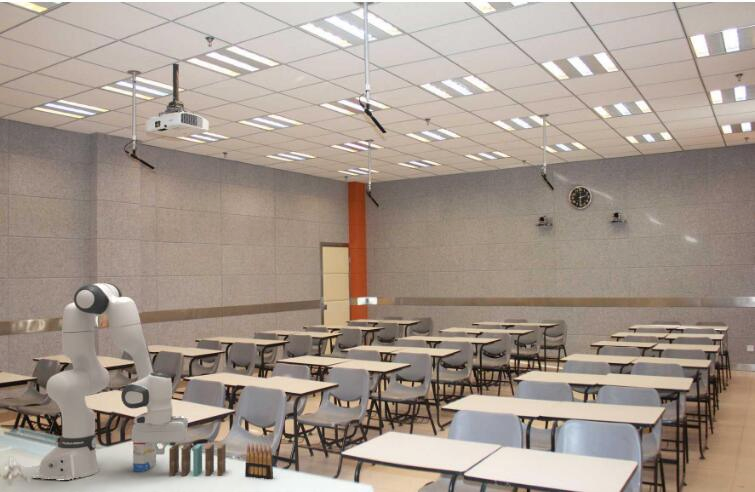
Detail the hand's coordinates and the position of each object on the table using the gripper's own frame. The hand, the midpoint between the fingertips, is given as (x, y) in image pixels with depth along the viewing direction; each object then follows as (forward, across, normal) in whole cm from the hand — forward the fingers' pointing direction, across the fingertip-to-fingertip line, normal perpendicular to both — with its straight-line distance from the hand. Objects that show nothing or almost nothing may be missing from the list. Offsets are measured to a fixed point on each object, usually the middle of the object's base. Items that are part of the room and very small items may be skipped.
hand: (159, 454), depth 235 cm
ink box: (+7, +8, -7) cm, 13 cm away
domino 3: (+7, -14, 0) cm, 16 cm away
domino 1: (+7, -5, 0) cm, 9 cm away
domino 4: (+7, -18, 0) cm, 20 cm away
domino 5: (+7, -23, 0) cm, 24 cm away
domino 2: (+7, -10, 0) cm, 12 cm away
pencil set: (+8, -38, +5) cm, 39 cm away
